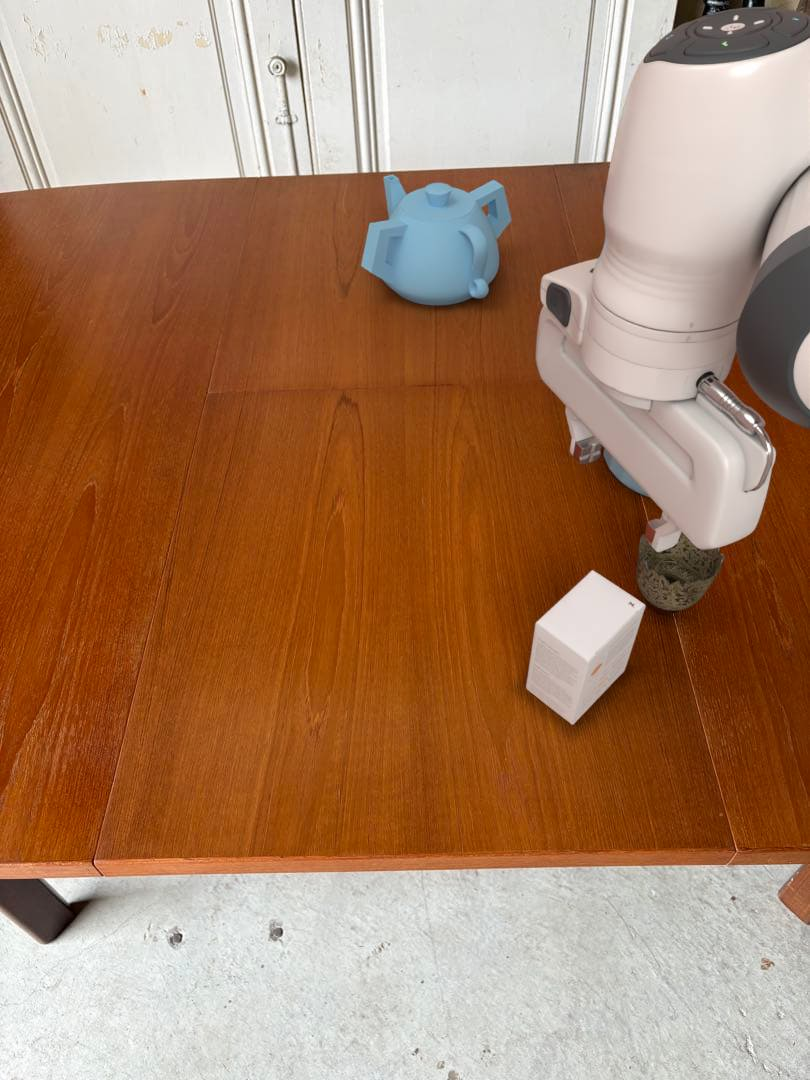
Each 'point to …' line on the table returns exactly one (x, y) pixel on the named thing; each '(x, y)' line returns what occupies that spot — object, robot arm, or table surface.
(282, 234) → the table surface
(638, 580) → the cup
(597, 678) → the small box
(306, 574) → the table surface
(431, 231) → the teapot
